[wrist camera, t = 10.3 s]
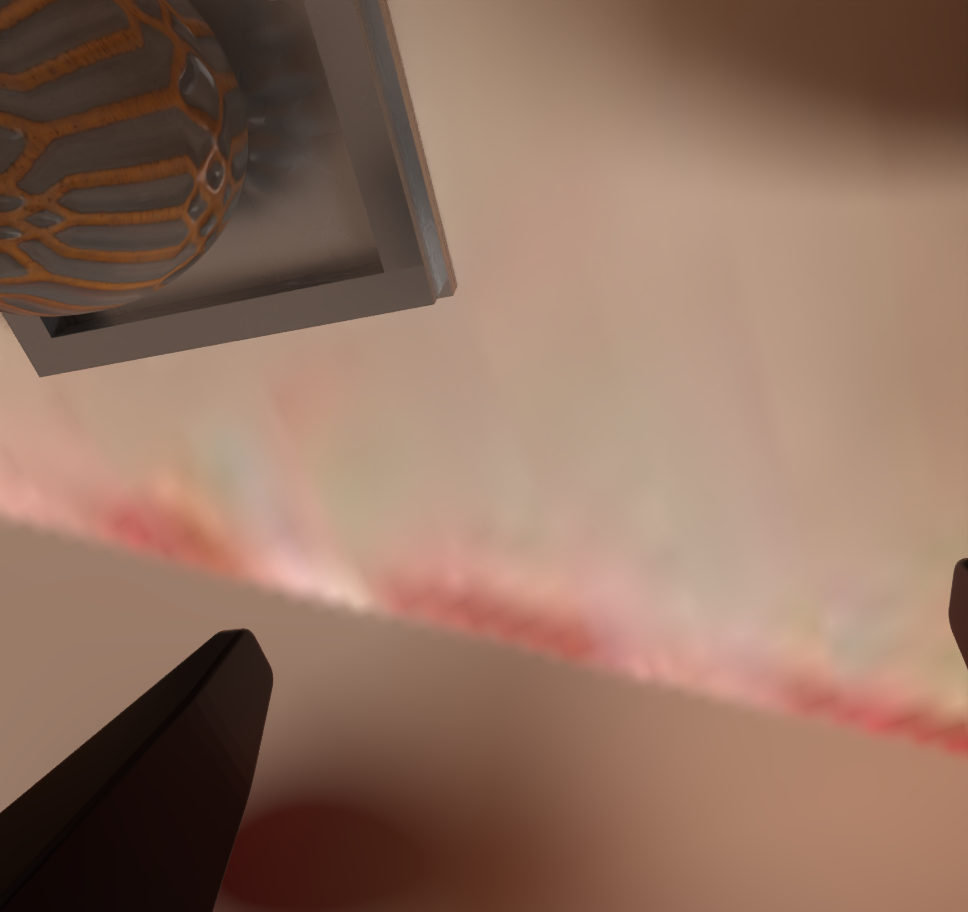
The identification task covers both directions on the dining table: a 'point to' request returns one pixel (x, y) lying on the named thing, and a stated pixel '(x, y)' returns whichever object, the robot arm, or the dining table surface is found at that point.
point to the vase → (111, 150)
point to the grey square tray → (291, 197)
